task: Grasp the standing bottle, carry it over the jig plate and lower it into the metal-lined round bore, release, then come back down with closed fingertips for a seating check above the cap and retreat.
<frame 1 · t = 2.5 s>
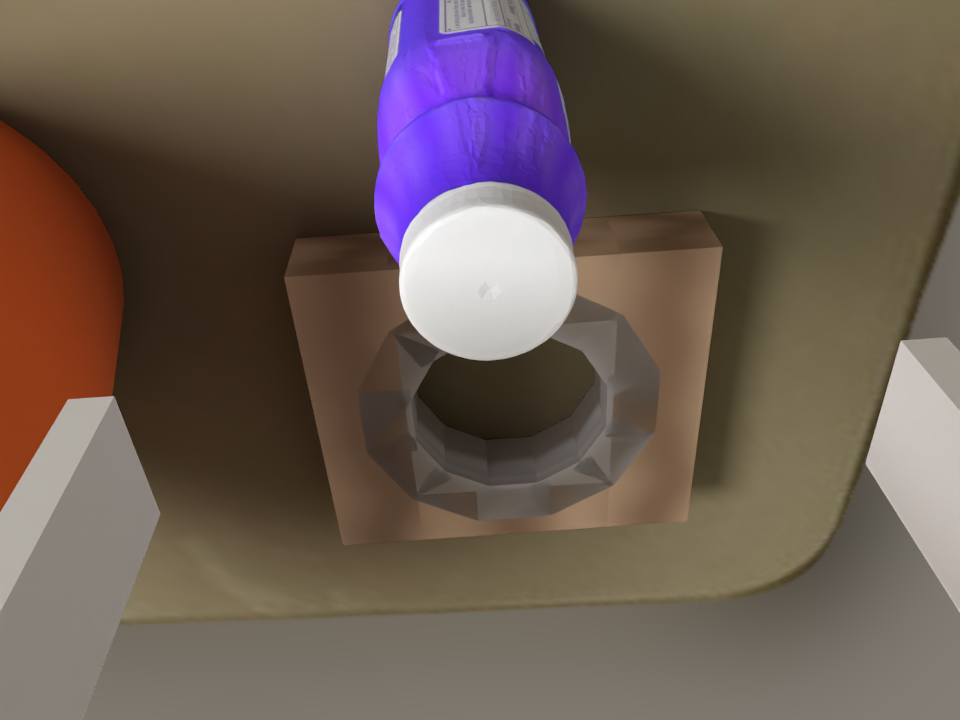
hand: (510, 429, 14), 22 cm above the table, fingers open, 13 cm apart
jig: (504, 369, 41), on the table
bottle: (465, 63, 33), on the table
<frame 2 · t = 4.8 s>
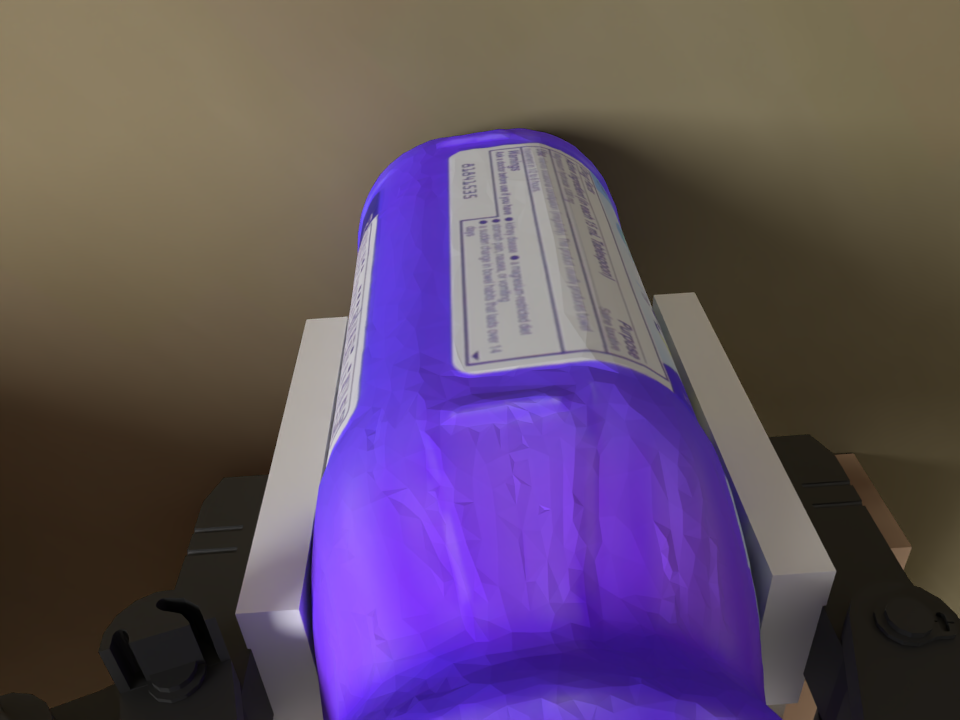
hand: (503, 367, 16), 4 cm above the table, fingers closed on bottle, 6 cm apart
jig: (541, 648, 28), on the table
bottle: (490, 255, 19), on the table, touching gripper
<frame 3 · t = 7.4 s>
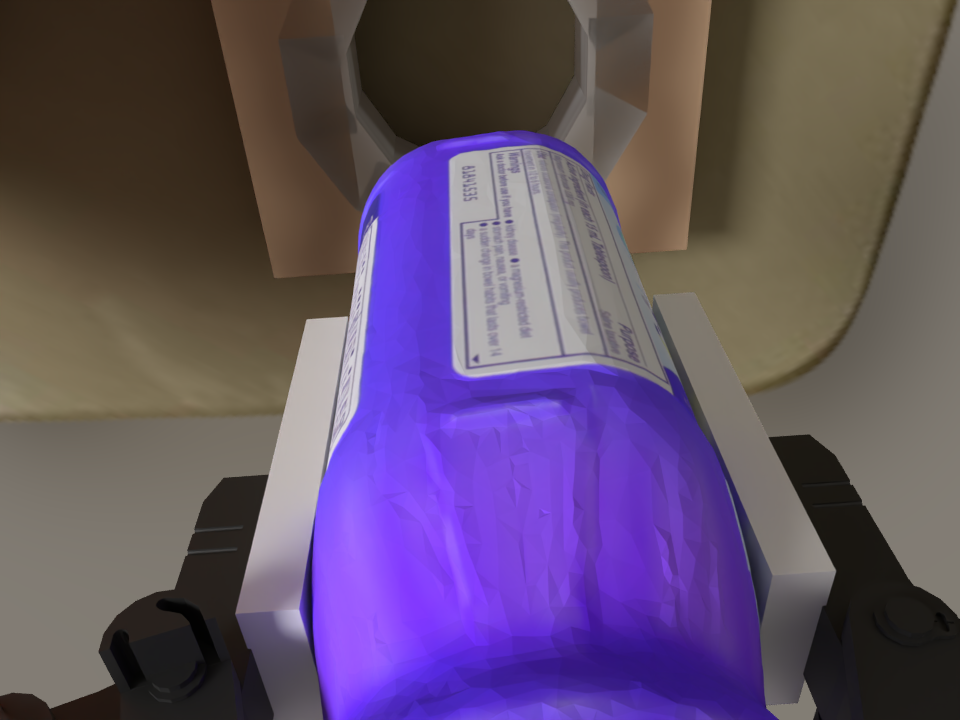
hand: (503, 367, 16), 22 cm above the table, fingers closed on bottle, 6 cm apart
jig: (466, 52, 34), on the table
bottle: (490, 257, 19), point 18 cm above the table, touching gripper
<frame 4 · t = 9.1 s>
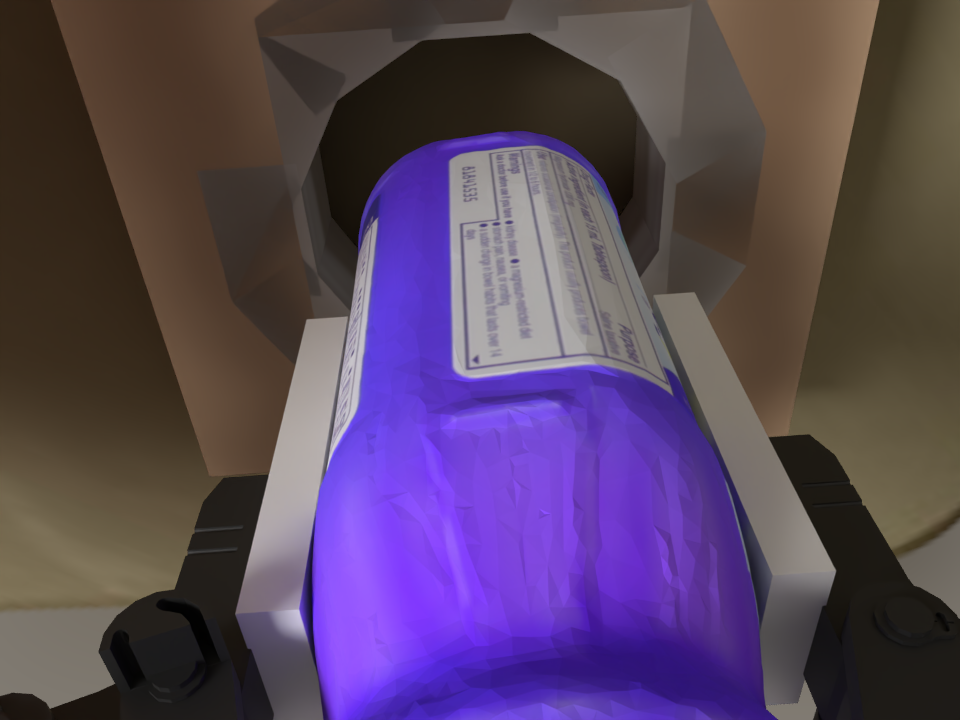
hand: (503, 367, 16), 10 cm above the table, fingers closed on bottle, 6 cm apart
jig: (479, 168, 24), on the table
bottle: (490, 257, 19), point 5 cm above the table, touching gripper
when the fingers open (5 cm above the table, at t = 10.3 s): bottle stays where it is, resting in jig.
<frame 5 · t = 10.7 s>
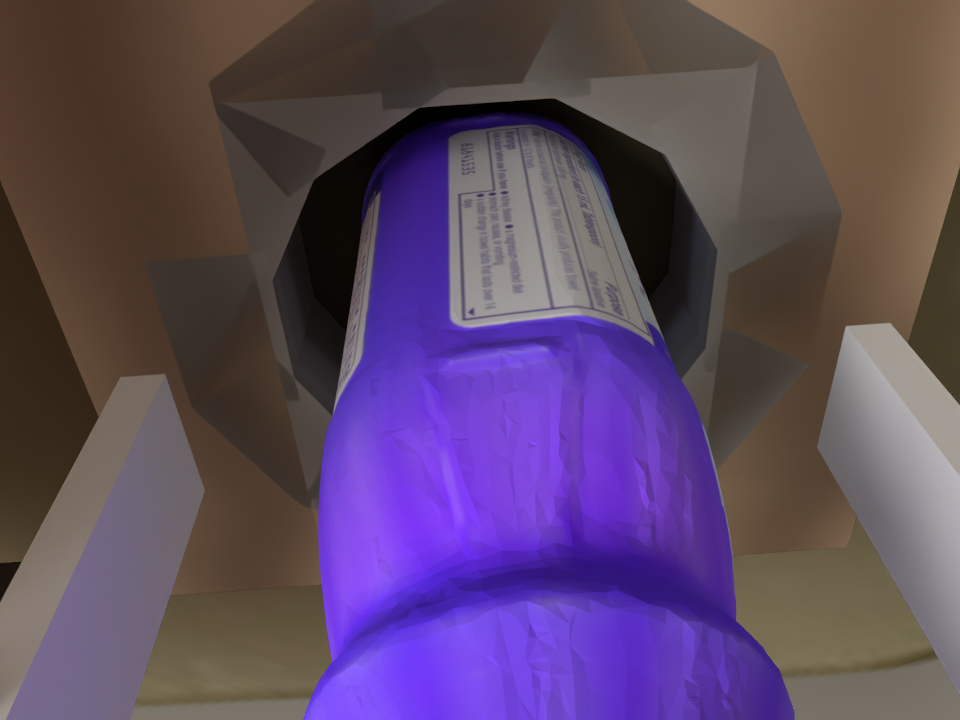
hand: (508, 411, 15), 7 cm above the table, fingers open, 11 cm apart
jig: (488, 240, 20), on the table
bottle: (488, 236, 20), resting in jig
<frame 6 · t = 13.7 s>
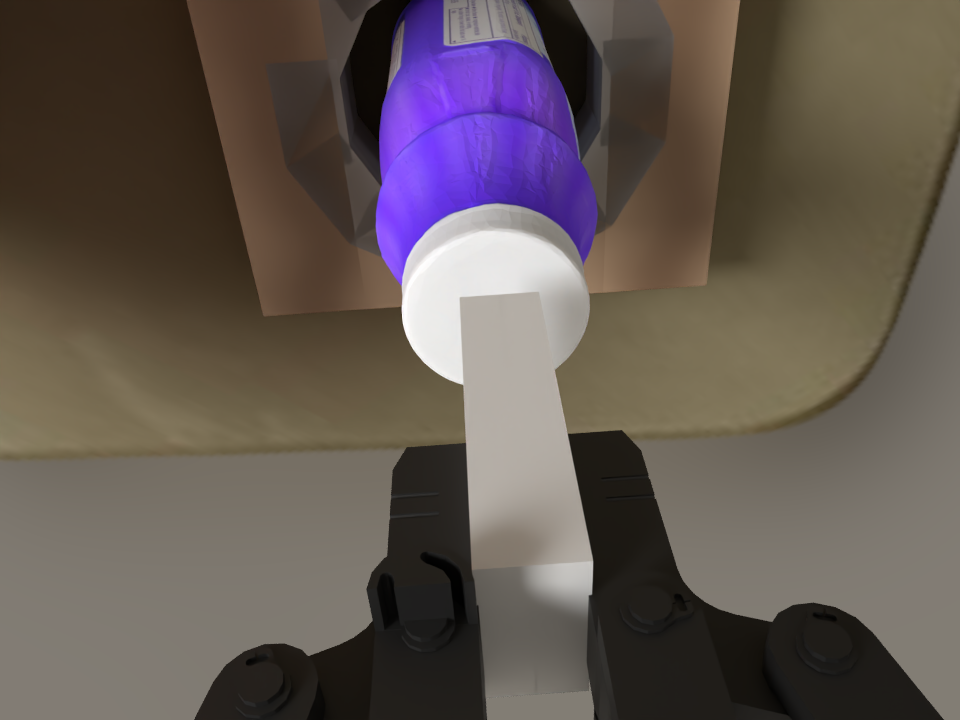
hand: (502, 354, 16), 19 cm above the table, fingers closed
jig: (469, 75, 32), on the table
bottle: (469, 73, 32), resting in jig
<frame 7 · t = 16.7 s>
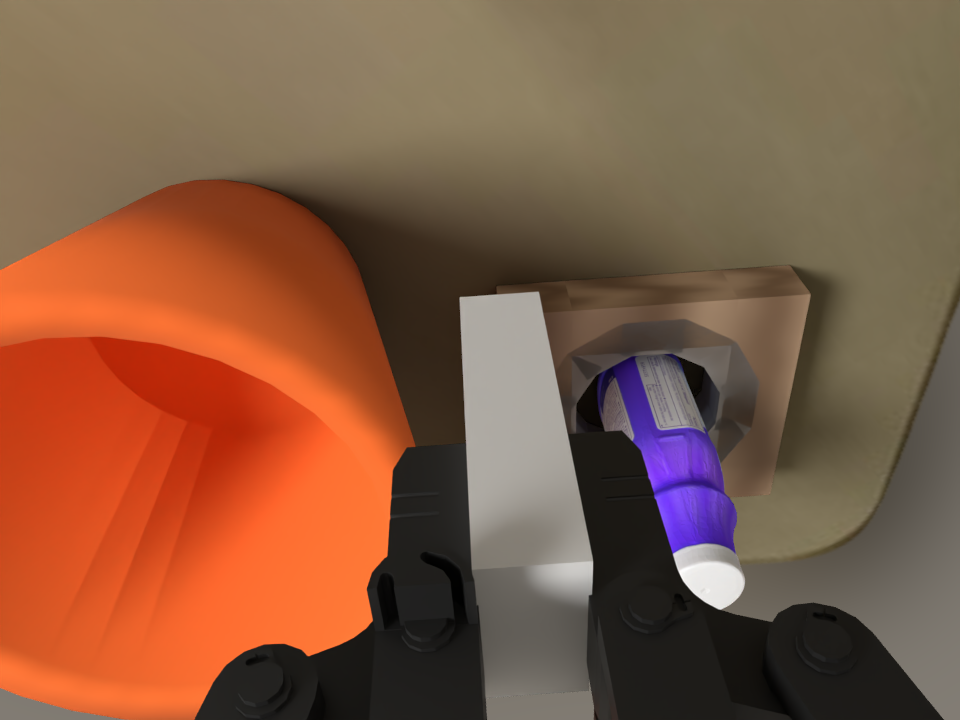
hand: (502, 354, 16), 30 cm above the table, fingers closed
jig: (636, 380, 55), on the table
bottle: (635, 378, 55), resting in jig
flowerpot: (235, 302, 50), on the table
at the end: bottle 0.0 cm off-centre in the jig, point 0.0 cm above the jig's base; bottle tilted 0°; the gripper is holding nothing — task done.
